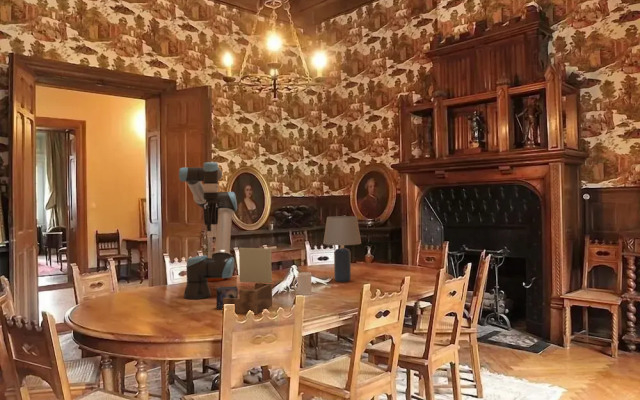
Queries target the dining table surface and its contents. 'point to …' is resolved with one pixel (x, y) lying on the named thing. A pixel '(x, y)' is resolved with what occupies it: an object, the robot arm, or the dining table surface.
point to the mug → (303, 283)
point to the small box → (225, 294)
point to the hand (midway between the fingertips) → (211, 237)
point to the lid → (255, 265)
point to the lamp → (342, 243)
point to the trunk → (252, 299)
